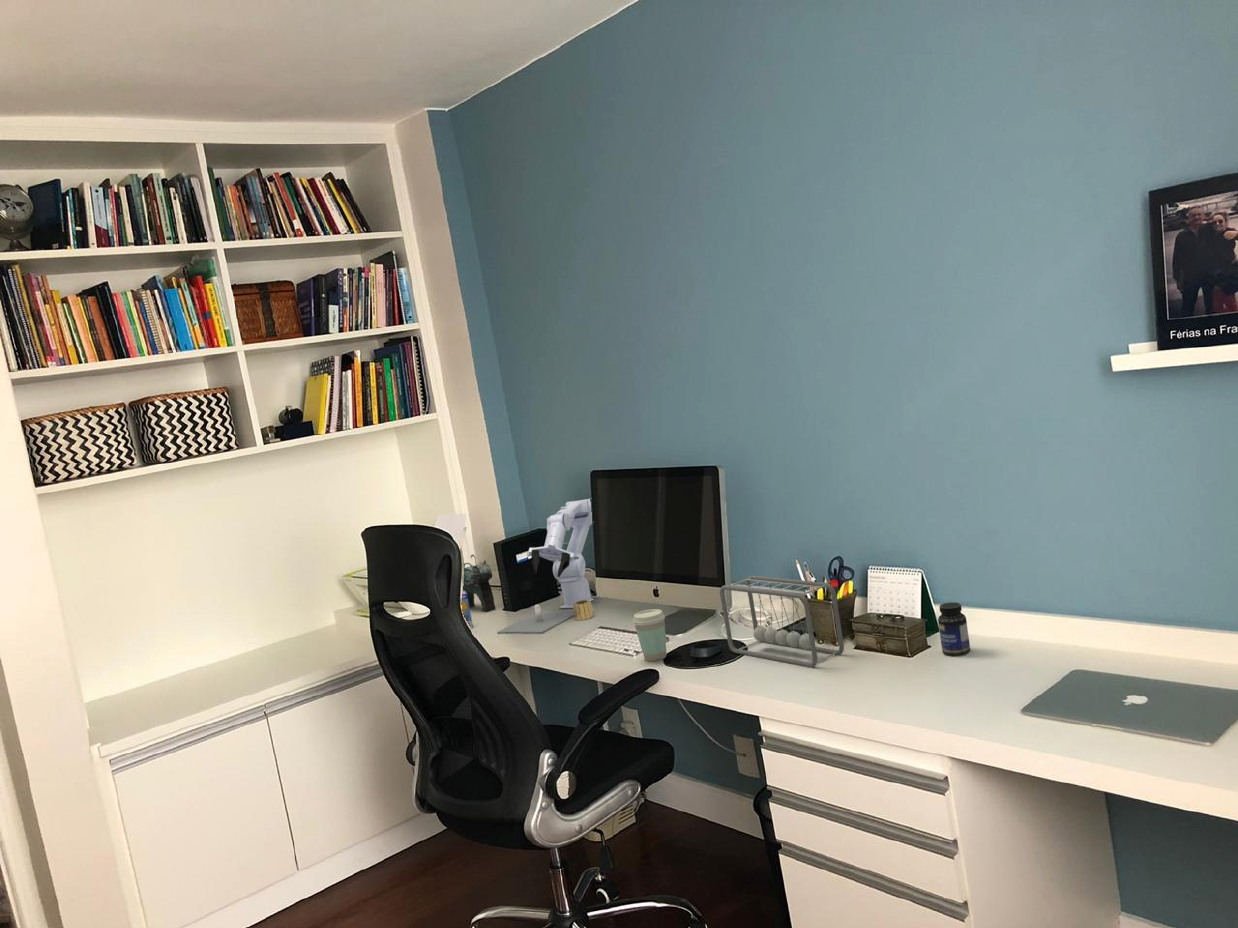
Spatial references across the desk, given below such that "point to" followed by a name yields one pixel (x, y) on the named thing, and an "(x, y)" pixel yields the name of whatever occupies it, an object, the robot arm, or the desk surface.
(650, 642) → the coffee cup
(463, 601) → the ink cartridge box
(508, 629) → the grey square plate
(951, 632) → the pill bottle
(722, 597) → the newton's cradle
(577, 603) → the wooden link ring
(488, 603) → the toy ray gun
